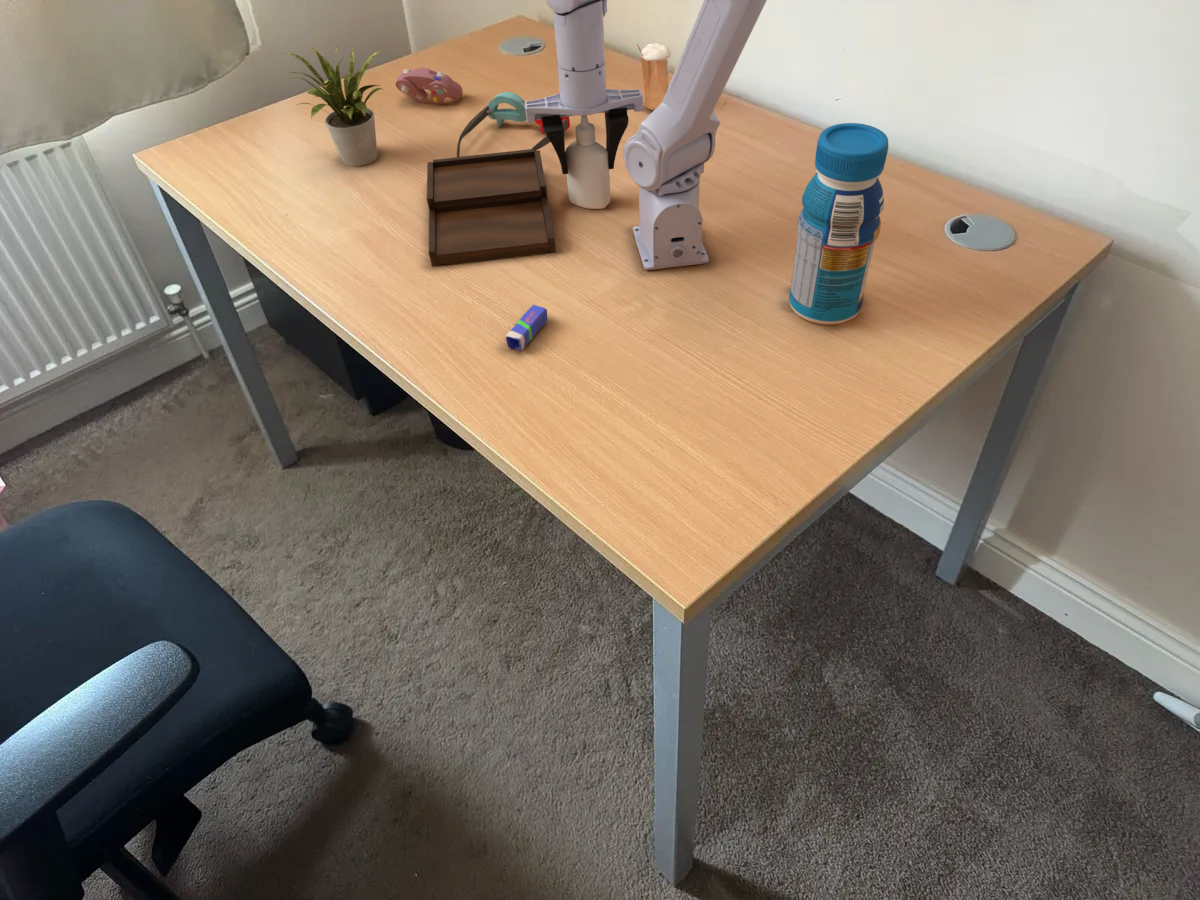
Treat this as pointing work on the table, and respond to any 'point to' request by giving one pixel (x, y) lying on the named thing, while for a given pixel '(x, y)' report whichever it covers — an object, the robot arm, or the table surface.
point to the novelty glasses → (507, 116)
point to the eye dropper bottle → (587, 169)
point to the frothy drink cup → (655, 73)
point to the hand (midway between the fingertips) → (587, 168)
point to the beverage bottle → (839, 224)
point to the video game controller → (428, 85)
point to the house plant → (346, 111)
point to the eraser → (526, 327)
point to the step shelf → (488, 207)
